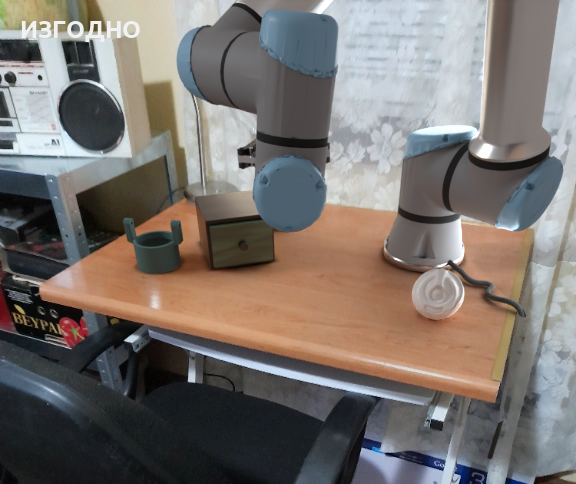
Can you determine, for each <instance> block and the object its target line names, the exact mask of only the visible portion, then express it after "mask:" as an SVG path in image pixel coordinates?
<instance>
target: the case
mask: <svg viewBox="0 0 576 484" xmlns="http://www.w3.org/2000/svg"><path fill="white" fill-rule="evenodd" d="M194 205H195V212H196V213H195V214H196V219H197V221H196V222H197V229H198V234H199V236H198V237H199V243H200V246H201V248H202V251H203V253H204V256H205V258H206V260H207V263H208V267H209V268H210V271H214V270H221V269H223V270H224V269H229V268H236V267H243V266H249V265H255V264H256V265H257V264H264V263H265V264H266V263H271V262H272V263H273V262H275V261H276V258H275V256H276V255H275V233H274V232H275V229H274V228H273V227H272V240H273V260H268V261H261V262H254V263H247V264H240V265H232V266H225V267H218V268H215V267H214V264H213V255H212V246H211V237H210V228H209V226H210V225H212V224H221V223H229V222H237V221H245V220H253V219H261V216H260V215H259V213H258V211H257V208H256V205H255V201H254V200H253V189H250V190H242V191H233V192H232V191H231V192H223V193H214V194H206V195H197V196H194Z"/></svg>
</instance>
